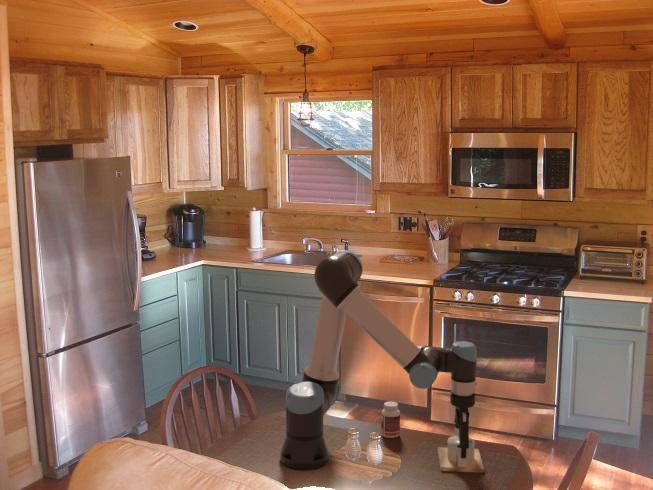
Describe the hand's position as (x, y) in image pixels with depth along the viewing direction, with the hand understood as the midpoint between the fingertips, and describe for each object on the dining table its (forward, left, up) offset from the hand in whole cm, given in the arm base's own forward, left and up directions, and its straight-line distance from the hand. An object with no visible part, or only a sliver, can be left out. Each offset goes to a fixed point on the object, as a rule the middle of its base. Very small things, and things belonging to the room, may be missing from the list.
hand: (460, 457), depth 240 cm
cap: (0, 0, 0) cm, 0 cm away
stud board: (0, 0, -1) cm, 1 cm away
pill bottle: (-22, +18, -2) cm, 28 cm away
